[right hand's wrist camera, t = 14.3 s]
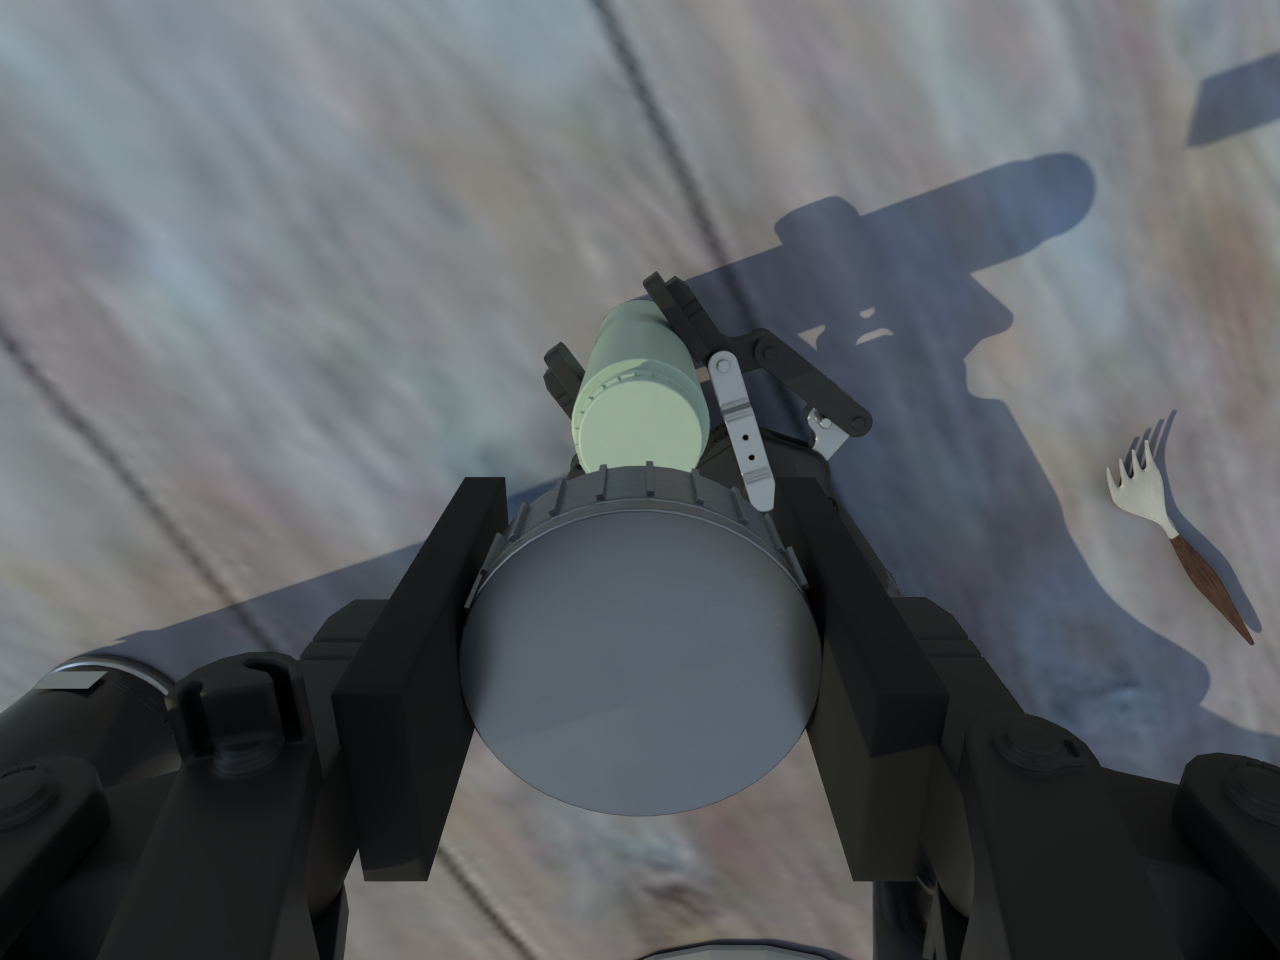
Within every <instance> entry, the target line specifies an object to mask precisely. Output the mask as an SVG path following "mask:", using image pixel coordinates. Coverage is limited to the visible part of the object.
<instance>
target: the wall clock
mask: <svg viewBox="0 0 1280 960" xmlns="http://www.w3.org/2000/svg"><path fill="white" fill-rule="evenodd" d="M643 960H828V959H825V958H823V957H821V956H817V955H812V954H807V953H802V952H797V951H792V950H787V949H782V948H777V947H772V946H767V945H707V946H701V947H696V948H690V949H685V950H679V951H674V952H669V953H663V954H658V955H653V956H651V957H648V958H646V959H643Z"/></svg>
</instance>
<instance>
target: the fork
mask: <svg viewBox="0 0 1280 960" xmlns="http://www.w3.org/2000/svg"><path fill="white" fill-rule="evenodd" d="M1145 457H1146V468H1145V469H1144V470H1142V469H1141V467H1140V465H1139V462H1138V460H1137V457H1136V453H1135V450H1133V449H1132V463H1133V469H1134V476H1133V478H1131V479H1130V478H1129V477H1128V475H1127V473H1126V470H1125V468H1124V465H1123V462H1122V460H1121V459H1120V458H1119V467H1120V475H1121V480H1122V484H1121V486H1120V487H1117V486H1116V484H1115V482H1114V480H1113V478H1112V475H1111V473H1110V469H1109V468H1108V467H1106V473H1107V480H1108V485H1109V489H1110V493H1111V496H1112V499H1113V501H1114V503H1115V504H1116V505H1117V506H1118V507H1120V508H1121V509H1123V510H1125V511H1127V512H1130V513H1132V514H1135V515H1138V516H1141V517H1144V518H1147V519H1150V520H1152V521H1154V522H1156V523H1158V524H1160V525H1161V526H1162V527H1163V529H1164V530H1165V532H1166V534H1167V535H1168V537H1169V539H1170V541H1171V543H1172V545H1173V547H1174V549H1175V551H1176V553H1177V555H1178V557H1179V559H1180V561H1181V563H1182V565H1183V567H1184V568H1185V570H1186V572H1187V574H1188V576H1189V577H1190V579H1191V580H1192V582H1193V583H1194V584H1195V586H1196V587H1197V588H1198V589H1199V590H1200V591H1201V593H1202V594H1203V595H1204V596H1205V597H1206V598H1207V599H1208V600H1209V601H1210V602H1211V603H1212V604H1213V605H1214V606H1215V607H1216V608H1217V609H1218V610H1219V611H1220V612H1221V613H1222V614H1223V615H1224V616H1225V617H1226V619H1227V620H1228V621H1229V622H1230V623H1231V624H1232V625H1233V626H1234V627H1235V629H1236V630H1237V631H1238V632H1239V633H1240V634H1241V635H1242V636H1243V638H1244V639H1245V640H1246V641H1247V642H1248V643H1249V644H1250V645H1253V644H1254V642H1253V639H1252V637H1251V636H1250V634H1249V632H1248V630H1247V628H1246V626H1245V625H1244V623H1243V621H1242V619H1241V618H1240V616H1239V614H1238V612H1237V610H1236V608H1235V607H1234V605H1233V603H1232V601H1231V599H1230V597H1229V595H1228V593H1227V591H1226V589H1225V587H1224V586H1223V584H1222V582H1221V580H1220V579H1219V577H1218V576H1217V574H1216V573H1215V572H1214V570H1213V569H1212V568H1211V567H1210V566H1209V565H1208V564H1207V562H1206V561H1205V560H1204V559H1203V558H1202V557H1201V556H1200V555H1199V554H1198V553H1197V552H1196V551H1195V550H1194V549H1193V548H1192V547H1191V546H1190V545H1189V544H1188V543H1187V542H1186V541H1185V540H1184V538H1183V537H1182V536H1181V535H1180V534H1179V533H1178V532H1177V531H1176V530H1175V529H1174V528H1173V526H1172V525H1171V524H1170V522H1169V520H1168V517H1167V513H1166V507H1165V497H1164V487H1163V481H1162V477H1161V474H1160V471H1159V469H1158V467H1157V466H1156V464H1155V462H1154V460H1153V457H1152V454H1151V451H1150V448H1149V444H1148V440H1145Z"/></svg>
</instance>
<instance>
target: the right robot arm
mask: <svg viewBox="0 0 1280 960" xmlns="http://www.w3.org/2000/svg"><path fill="white" fill-rule="evenodd" d="M773 521H774V524H775V526H776V529H777V531H778V534H779V536H780V537H781V539H782V541H783V543H784V544H785V546H786V548H788V547H790V546H792V548H793V550H794V552H795V554H796V557H797V559H798V561H799V564H800V566H801V568H802V570H803V573H804V575H805V577H806V580H807V582H808V584H809V587H810V589H807V590H805V593H806V595H807V597H808V600H809V602H810V604H811V607H812V609H813V612H814V614H815V617H816V619H817V622H818V626H819V630H820V635H821V639H822V645H823V663H822V673H821V683H820V691H819V697H818V701H817V704H816V707H815V709H814V711H813V714H812V716H811V719H810V721H809V723H808V725H807V727H806V730H807V734H808V737H809V740H810V743H811V747H812V750H813V753H814V756H815V759H816V763H817V766H818V769H819V772H820V776H821V779H822V782H823V785H824V788H825V792H826V795H827V798H828V801H829V805H830V808H831V811H832V814H833V817H834V821H835V824H836V827H837V830H838V834H839V837H840V840H841V843H842V846H843V850H844V853H845V856H846V859H847V863H848V866H849V869H850V872H851V875H852V879H853V881H916V878H917V872H918V867H919V862H920V856H921V851H922V845H923V847H924V849H925V852H926V854H927V856H928V859H929V861H930V863H931V865H932V868H933V870H934V872H935V875H936V877H937V880H936V885H935V890H934V895H933V900H932V905H931V911H930V916H929V921H928V926H927V931H926V936H925V941H924V948H923V955H922V958H925V959H929V960H932V959H933V954H934V949H935V948H936V957H937V960H1280V768H1279V767H1277V766H1275V765H1272V764H1269V763H1266V762H1264V761H1263V762H1262V761H1259V760H1257V759H1253V758H1249V757H1246V756H1240V755H1232V754H1225V753H1211V754H1204V755H1197V756H1196V757H1195V758H1194V759H1192V760H1191V761H1190V762H1189V763H1188V764H1186V766H1185V769H1184V772H1183V775H1182V778H1181V781H1180V784H1179V785H1177V784H1173V783H1168V782H1163V781H1159V780H1154V779H1150V778H1145V777H1140V776H1136V775H1131V774H1127V773H1122V772H1118V771H1114V770H1111V769H1107V768H1104V767H1101V766H1100V764H1099V762H1098V760H1097V759H1096V757H1095V756H1094V755H1093V753H1092V752H1091V750H1090V749H1089V748H1088V746H1087V745H1086V744H1085V743H1084V742H1082V741H1081V740H1080V739H1078V738H1077V737H1076V736H1075V735H1073V734H1072V733H1071V732H1069V731H1068V730H1067V729H1065V728H1063V727H1061V726H1058V725H1056V724H1054V723H1052V722H1050V721H1048V720H1046V719H1044V718H1041V717H1037V716H1033V715H1029V714H1025V712H1024V711H1023V709H1022V708H1021V707H1020V705H1019V704H1018V703H1017V701H1016V700H1015V699H1014V697H1013V696H1012V695H1011V693H1010V692H1009V691H1008V689H1007V688H1006V687H1005V685H1004V684H1003V683H1002V681H1001V680H1000V679H999V677H998V676H997V675H996V673H995V672H994V671H993V669H992V668H991V666H990V665H989V664H988V662H987V661H986V660H985V658H981V655H980V654H981V653H980V652H979V650H978V649H977V648H976V646H975V645H974V644H973V642H972V641H971V640H968V636H967V634H966V633H965V632H964V630H963V629H962V627H961V626H960V625H959V623H958V622H957V621H956V619H955V618H954V617H953V615H951V614H950V613H948V612H947V611H945V610H944V609H942V608H941V607H939V606H938V605H936V604H935V603H933V602H932V601H930V600H929V599H927V598H926V597H889V595H888V594H887V592H886V591H885V589H884V587H883V586H882V584H881V583H880V581H879V579H878V578H877V576H876V575H875V573H874V571H873V570H872V568H871V566H870V565H869V563H868V562H867V560H866V558H865V557H864V555H863V554H862V552H861V550H860V549H859V547H858V546H857V544H856V542H855V541H854V539H853V537H852V536H851V534H850V533H849V531H848V529H847V528H846V526H845V525H844V523H843V521H842V520H841V518H840V517H839V515H838V513H837V512H836V510H835V508H834V507H833V505H832V504H831V502H830V500H829V499H828V497H827V496H826V494H825V492H824V491H823V489H822V488H821V486H820V484H819V483H818V481H817V479H816V478H815V477H775V491H774V505H773ZM507 527H508V513H507V499H506V484H505V477H465V479H464V480H463V482H462V483H461V485H460V487H459V488H458V490H457V491H456V493H455V495H454V496H453V498H452V500H451V501H450V503H449V504H448V506H447V508H446V509H445V511H444V512H443V514H442V516H441V517H440V519H439V520H438V522H437V524H436V525H435V527H434V529H433V530H432V532H431V533H430V535H429V537H428V538H427V540H426V541H425V543H424V545H423V546H422V548H421V549H420V551H419V553H418V554H417V556H416V558H415V559H414V561H413V562H412V564H411V566H410V567H409V569H408V570H407V572H406V574H405V575H404V577H403V579H402V580H401V582H400V583H399V585H398V587H397V588H396V590H395V591H394V593H393V595H392V596H391V598H390V599H389V600H354V601H352V602H351V603H349V604H348V605H346V606H345V607H343V608H342V609H340V610H339V611H338V612H336V613H335V614H333V615H332V616H330V617H329V618H328V619H327V620H326V622H325V623H324V624H323V626H322V627H321V628H320V630H319V631H318V633H317V634H316V635H315V637H314V638H313V642H310V643H309V645H308V646H307V647H306V649H305V650H304V652H303V653H302V654H301V656H300V657H301V658H300V660H297V661H296V660H295V659H294V658H292V657H291V656H289V655H285V654H280V653H276V652H248V653H244V654H240V655H235V656H231V657H227V658H222V659H220V660H218V661H215V662H213V663H210V664H208V665H206V666H203V667H201V668H198V669H197V670H195V671H194V672H192V673H191V674H189V675H188V676H186V677H185V678H183V679H182V680H180V681H179V682H177V683H176V684H175V686H174V687H173V688H172V689H171V690H170V691H169V693H168V694H167V695H166V696H165V697H164V700H165V704H166V707H167V711H168V714H169V718H170V722H171V725H172V729H173V732H174V736H175V739H176V743H177V746H178V750H179V753H180V757H181V761H182V763H181V765H180V768H179V770H177V771H174V772H170V773H167V774H163V775H159V776H155V777H150V778H145V779H141V780H136V781H132V782H127V783H123V784H118V785H114V786H109V787H104V788H102V785H101V782H100V779H99V776H98V773H97V770H96V768H95V767H94V766H93V765H91V764H90V763H89V762H88V761H87V760H85V759H83V758H76V757H69V756H58V757H51V758H43V759H36V760H33V761H30V762H26V763H23V764H21V765H16V766H13V767H11V768H8V769H5V770H3V771H1V772H0V960H343V959H344V950H345V941H346V932H347V923H348V914H349V910H348V903H347V895H346V890H345V885H344V880H345V877H346V875H347V873H348V870H349V868H350V866H351V863H352V861H353V859H354V856H355V854H356V852H357V850H358V848H359V854H360V859H361V864H362V870H363V875H364V881H427V880H428V877H429V874H430V870H431V867H432V864H433V861H434V858H435V854H436V851H437V848H438V845H439V841H440V838H441V835H442V832H443V829H444V825H445V822H446V819H447V816H448V812H449V809H450V806H451V803H452V800H453V796H454V793H455V790H456V787H457V783H458V780H459V777H460V774H461V771H462V767H463V764H464V761H465V758H466V754H467V751H468V748H469V745H470V742H471V738H472V735H473V732H474V729H475V727H474V725H473V723H472V721H471V719H470V716H469V714H468V712H467V710H466V707H465V704H464V700H463V697H462V693H461V687H460V678H459V668H458V645H459V640H460V634H461V629H462V625H463V623H464V620H465V617H466V613H463V612H462V611H463V608H464V605H465V603H466V600H467V598H468V596H469V593H470V591H471V589H472V586H473V584H474V582H475V579H476V577H477V575H478V572H479V570H480V568H481V567H482V565H483V562H484V560H485V558H486V555H487V553H488V551H489V548H490V546H491V544H492V541H493V539H494V537H495V535H496V534H497V532H498V533H500V534H501V535H502V534H503V533H504V531H505V530H506V529H507Z"/></svg>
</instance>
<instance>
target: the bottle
mask: <svg viewBox="0 0 1280 960" xmlns="http://www.w3.org/2000/svg"><path fill="white" fill-rule="evenodd" d="M571 425H572V435H573V440H574V444H575V448H576V452H577V455H578V459H579V463H580V465H581V466H582V468H583V469H584V471H585V473H586V474H587V473H591V472H595V471H599V467H600V465H603V464H607V467H608V468H615V467H622V466H646V461H653V466H657V467H667V468H674V469H678V470H682V471H686V472H691V469H692V468H694V469H695V468H696V466H697V464H698V462H699V460H700V458H701V456H702V454H703V452H704V450H705V447H706V445H707V441H708V438H709V431H710V418H709V411H708V408H707V404H706V401H705V398H704V395H703V392H702V389H701V386H700V383H699V380H698V377H697V374H696V371H695V368H694V364H693V361H692V358H691V355H690V352H689V351H688V349H687V347H686V346H685V344H684V343H683V342H682V340H681V339H680V338H679V336H678V335H677V333H676V332H675V331H674V329H673V328H672V326H671V325H670V323H669V322H668V320H667V319H666V318H665V316H664V315H663V313H662V312H661V310H660V309H659V308H658V306H657V305H656V303H655V302H653V301H649V300H633V301H629V302H625V303H623V304H621V305H619V306H617V307H616V308H614V309H613V310H612V311H611V312H610V313H609V314H608V315H607V316H606V318H605V319H604V321H603V322H602V324H601V327H600V329H599V332H598V335H597V338H596V341H595V344H594V347H593V350H592V353H591V356H590V359H589V363H588V366H587V369H586V372H585V375H584V378H583V381H582V384H581V387H580V390H579V393H578V396H577V399H576V402H575V405H574V409H573V413H572V423H571Z"/></svg>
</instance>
